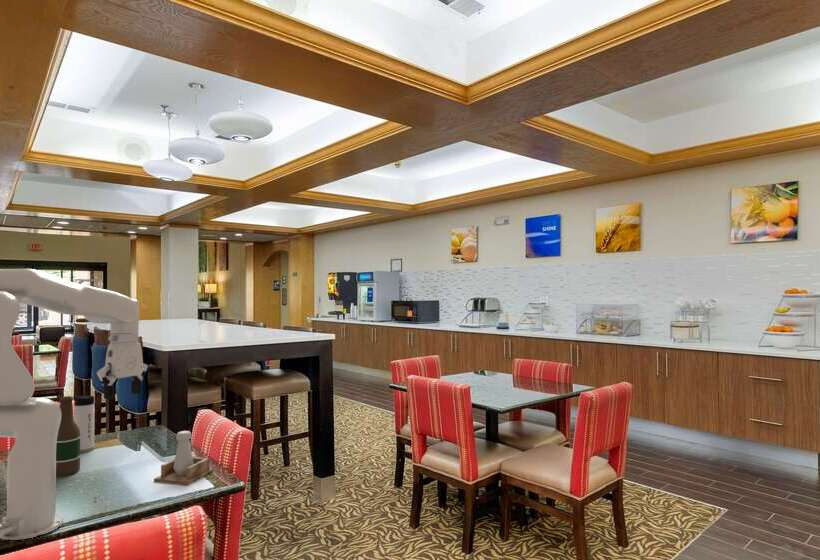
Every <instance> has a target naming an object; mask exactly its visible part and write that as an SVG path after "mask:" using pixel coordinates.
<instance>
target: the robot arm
mask: <svg viewBox="0 0 820 560" xmlns="http://www.w3.org/2000/svg"><path fill="white" fill-rule="evenodd" d="M20 304H22V305H28V306H29V305H30V306H32V307H36V308H40V309H44V310H47V311H50V312H55V313H58V314H62V315H71V316H83V317H84V318H85V320H86V321H88V322H90V323H93V324H110V327H109V328H110V330H109V331H110V332H109V333H110V334H109V336H107V337H108V338H107V339H108V342H109V344H108V346H107V349H106V356H105V365H104V366H103V367H102V368H100V369H99V370H97V371H96V375H97V377H98V381H99V382H101V385H102V386H104V387H103V398H104V400H114V399H115V385H113V384H114V383H115V382H116V380H117V379H124V378H125V379H126V378H131V379H132V380H131V388H130V393H131V394H135V395H139V394H142V381H143V380H144V377H145V375H146V373H147V371H148V370H147V369H148V367H149V365H148V364H146V363H144V359H143V349H142V345H141V344H142V343H140V342H139V330H140V329H139V328H140V327H139V325H140V324H139V323H140V322H139V321H140V319H139V318H140V302H139V301H138V299H136V298H131V297H129V296H127V295H124V294H122V293H119V292H116V291H112V290H109V289H104V288H98V287H94V286H90V285H85V284H80V283H77V282H76V283H75V282H72V281H70V280H67V279H64V278H62V277H59V276H55V275H52V274H49V273H47V272H44V271H41V270H38V269H35V268H33V269H32V268H1V269H0V438H13V439H15V442H14V444H13V446H12V448H11V449H10V451H9V454H8V457H7V464H6V465H7V466H6V470H7V475H6V480H7V481H6V482H7V483H6V516H3V517H1V522H0V538H2V539H6V540H7V539H9V540H18V539H19V540H20V539H26V538H32V539H34V538H33V537H36V536H37V535H40V534H43V533H47V532H49V531H52V530H54V531H56V530H58V529H59V528H60V527H61V526H62V525H63V524H64V517H63V516H62V515H61V514H58V513H57V512H56V506H57V505H56V503H57V501H56V499H57V498H56V495H57V491H56V489H57V484H56V483H57V482H56V481H57V477H56V443H57V435H58V430H59V426H60V422H61V409H60V405H59V404H58V403H57V402H55V401H54V400H52V399H50V398H46V397H32V396H33V395H34V393H35V387H36V386H35V382H34V379H33V376H32V375H31V373H30V371H28V369H27V367H26V366H25V364H24V362H23V361H22V360H21V358H20V356H19V355H18V354H17V352H16V350H15V348H14V346H13V344H12V335H13V331H14V328H15V327H16V324H17V321H18V319H19V317H20V313H21V312H20V311H21V306H20ZM56 513H57V514H56ZM59 526H60V527H59ZM58 527H59V528H58ZM57 528H58V529H57ZM55 529H56V530H55ZM52 532H53V531H52ZM36 538H37V537H36Z"/></svg>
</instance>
